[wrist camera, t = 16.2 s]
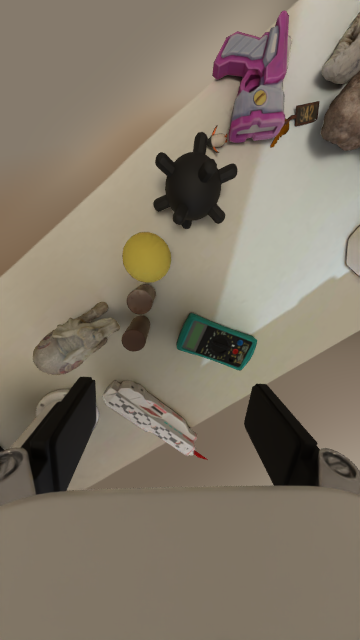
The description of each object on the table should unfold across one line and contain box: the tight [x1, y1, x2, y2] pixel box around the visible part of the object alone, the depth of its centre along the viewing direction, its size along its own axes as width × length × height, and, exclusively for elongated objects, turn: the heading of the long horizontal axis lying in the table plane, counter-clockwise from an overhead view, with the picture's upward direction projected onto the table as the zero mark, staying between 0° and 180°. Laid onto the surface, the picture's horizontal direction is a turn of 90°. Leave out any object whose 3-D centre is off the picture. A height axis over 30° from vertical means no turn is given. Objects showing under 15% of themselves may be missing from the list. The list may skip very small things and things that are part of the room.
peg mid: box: [127, 284, 156, 314], centre depth 30 cm, size 4×4×8 cm
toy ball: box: [153, 132, 237, 229], centre depth 25 cm, size 11×11×12 cm
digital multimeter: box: [177, 313, 257, 370], centre depth 36 cm, size 7×15×3 cm, turn 68°
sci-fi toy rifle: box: [102, 380, 206, 459], centre depth 40 cm, size 4×6×30 cm
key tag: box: [270, 101, 319, 148], centre depth 28 cm, size 8×3×1 cm, turn 118°
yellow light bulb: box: [122, 232, 171, 283], centre depth 27 cm, size 7×7×10 cm
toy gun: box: [213, 11, 292, 143], centre depth 25 cm, size 3×11×10 cm
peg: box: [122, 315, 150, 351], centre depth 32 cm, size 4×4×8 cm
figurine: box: [33, 302, 120, 375], centre depth 30 cm, size 10×14×15 cm, turn 102°
